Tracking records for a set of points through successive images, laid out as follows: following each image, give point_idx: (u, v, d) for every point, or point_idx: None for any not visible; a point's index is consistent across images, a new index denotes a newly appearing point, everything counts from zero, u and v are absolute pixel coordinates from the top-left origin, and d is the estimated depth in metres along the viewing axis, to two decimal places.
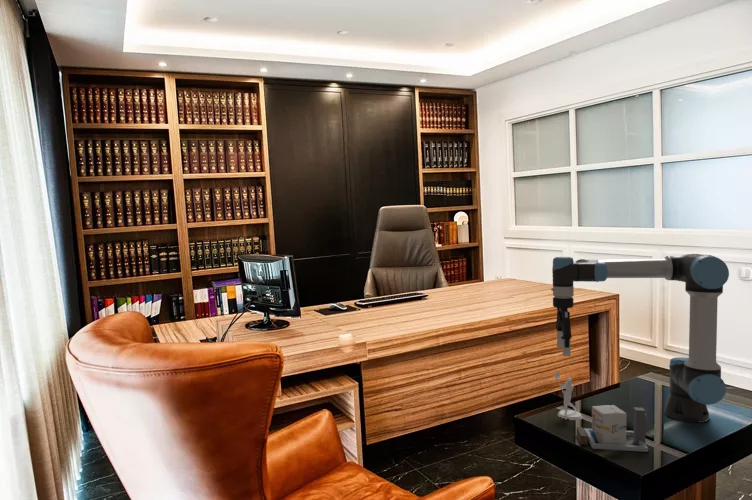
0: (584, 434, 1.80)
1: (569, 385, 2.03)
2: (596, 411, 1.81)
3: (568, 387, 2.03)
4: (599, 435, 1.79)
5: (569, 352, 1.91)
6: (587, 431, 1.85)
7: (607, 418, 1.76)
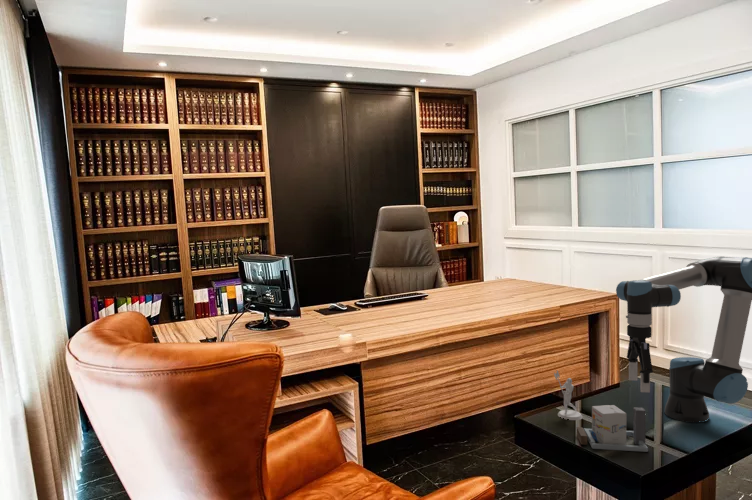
0: (584, 434, 1.80)
1: (569, 385, 2.03)
2: (596, 411, 1.81)
3: (568, 387, 2.03)
4: (599, 435, 1.79)
5: (648, 388, 1.71)
6: (587, 431, 1.85)
7: (607, 418, 1.76)
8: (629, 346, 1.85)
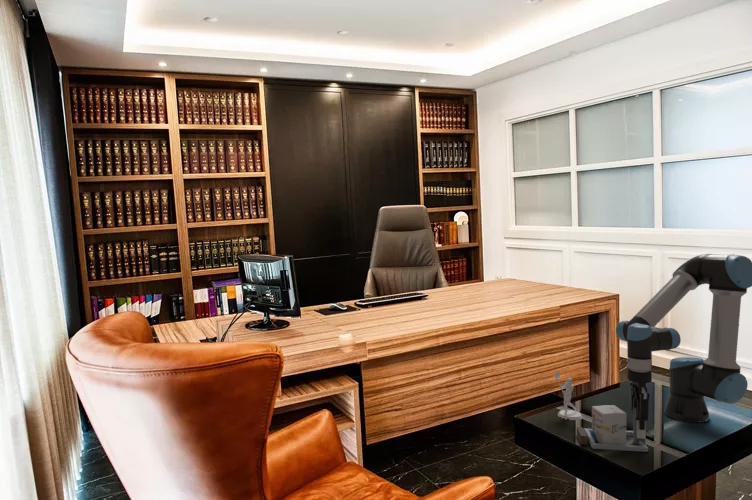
0: (584, 434, 1.80)
1: (569, 385, 2.03)
2: (596, 411, 1.81)
3: (568, 387, 2.03)
4: (599, 435, 1.79)
5: (644, 434, 1.77)
6: (587, 431, 1.85)
7: (607, 418, 1.76)
8: (631, 395, 1.83)
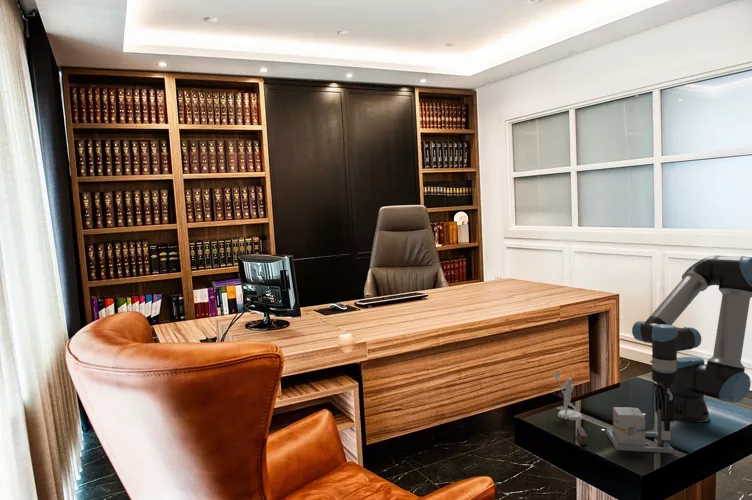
0: (584, 434, 1.80)
1: (569, 385, 2.03)
2: (615, 411, 1.80)
3: (568, 387, 2.03)
4: (616, 436, 1.78)
5: (669, 436, 1.75)
6: (610, 432, 1.84)
7: (622, 419, 1.75)
8: (655, 395, 1.82)
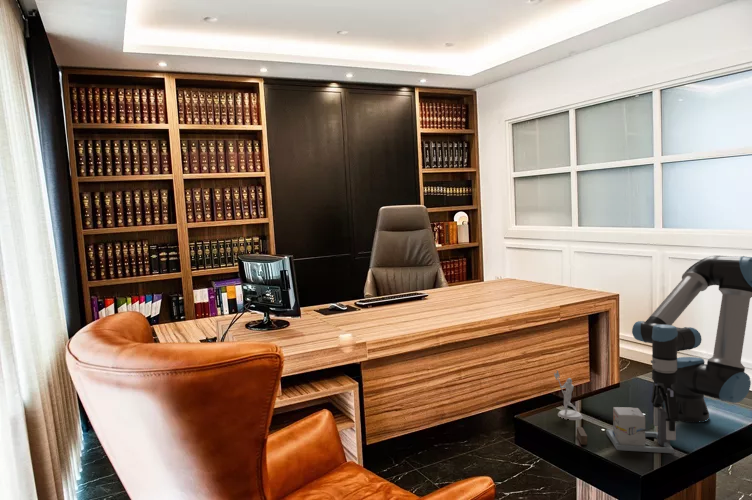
0: (584, 434, 1.80)
1: (569, 385, 2.03)
2: (615, 411, 1.80)
3: (568, 387, 2.03)
4: (617, 436, 1.78)
5: (674, 436, 1.71)
6: (610, 432, 1.84)
7: (623, 419, 1.75)
8: (654, 390, 1.84)
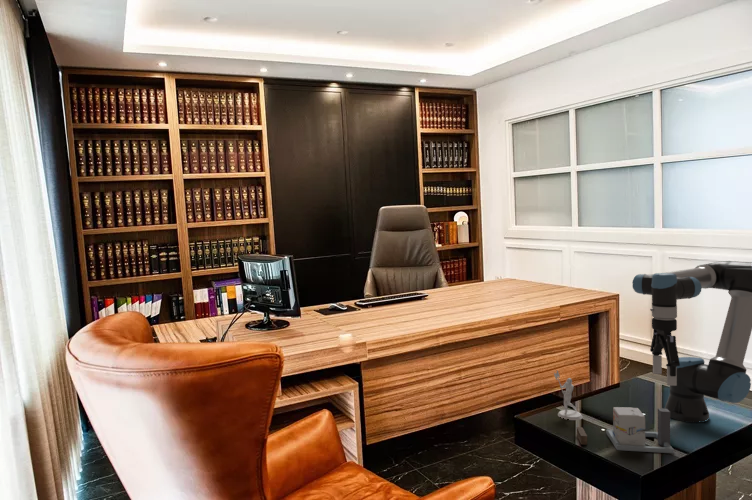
0: (584, 434, 1.80)
1: (569, 385, 2.03)
2: (615, 411, 1.80)
3: (568, 387, 2.03)
4: (617, 436, 1.78)
5: (675, 381, 1.70)
6: (610, 432, 1.84)
7: (623, 420, 1.75)
8: (653, 339, 1.84)
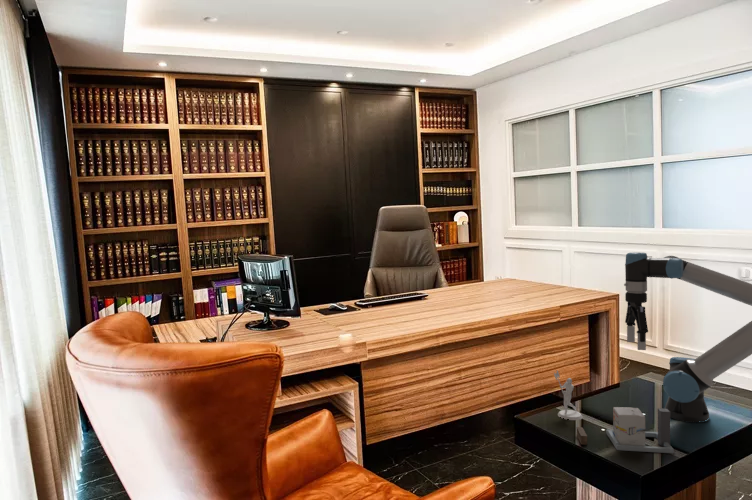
0: (584, 434, 1.80)
1: (569, 385, 2.03)
2: (615, 411, 1.80)
3: (568, 387, 2.03)
4: (617, 436, 1.78)
5: (644, 346, 1.94)
6: (610, 432, 1.84)
7: (623, 419, 1.75)
8: (627, 312, 2.08)
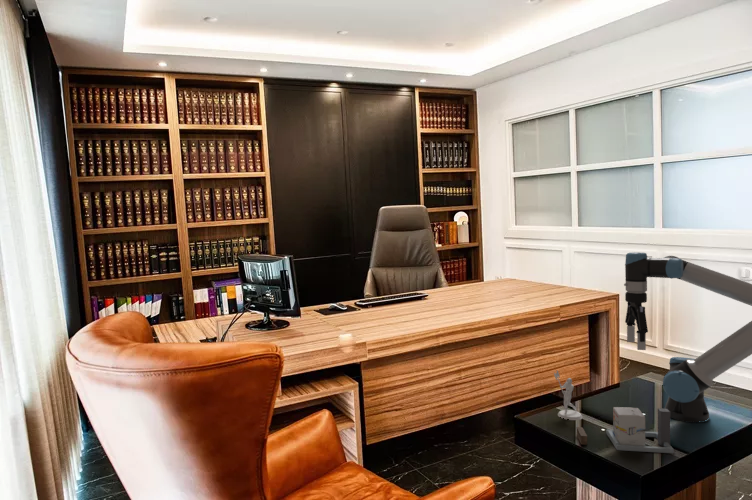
0: (584, 434, 1.80)
1: (569, 385, 2.03)
2: (615, 411, 1.80)
3: (568, 387, 2.03)
4: (617, 436, 1.78)
5: (644, 346, 1.94)
6: (610, 432, 1.84)
7: (623, 420, 1.75)
8: (627, 311, 2.08)
